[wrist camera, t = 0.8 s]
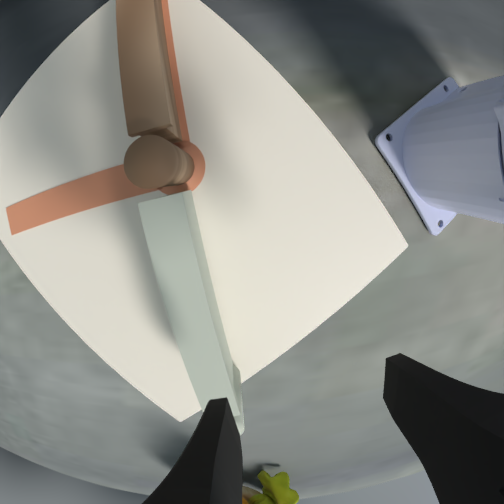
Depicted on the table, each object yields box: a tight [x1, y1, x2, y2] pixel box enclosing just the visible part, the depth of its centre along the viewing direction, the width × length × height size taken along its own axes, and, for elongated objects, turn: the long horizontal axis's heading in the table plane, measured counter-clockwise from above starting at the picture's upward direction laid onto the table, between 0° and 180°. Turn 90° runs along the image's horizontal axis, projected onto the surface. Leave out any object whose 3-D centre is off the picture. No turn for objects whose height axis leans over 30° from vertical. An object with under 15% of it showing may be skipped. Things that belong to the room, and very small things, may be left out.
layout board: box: [0, 0, 408, 422], centre depth 16 cm, size 21×26×1 cm
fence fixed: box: [116, 0, 194, 189], centre depth 11 cm, size 2×15×6 cm, turn 11°
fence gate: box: [138, 190, 244, 435], centre depth 15 cm, size 2×13×5 cm, turn 10°
